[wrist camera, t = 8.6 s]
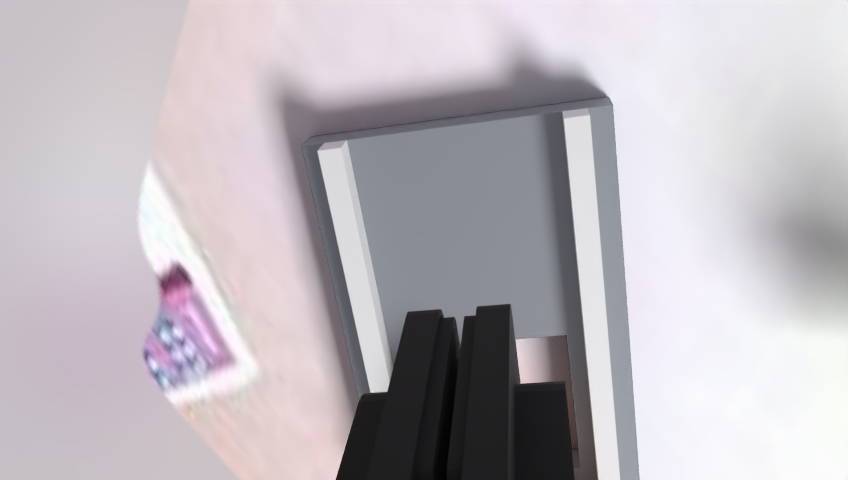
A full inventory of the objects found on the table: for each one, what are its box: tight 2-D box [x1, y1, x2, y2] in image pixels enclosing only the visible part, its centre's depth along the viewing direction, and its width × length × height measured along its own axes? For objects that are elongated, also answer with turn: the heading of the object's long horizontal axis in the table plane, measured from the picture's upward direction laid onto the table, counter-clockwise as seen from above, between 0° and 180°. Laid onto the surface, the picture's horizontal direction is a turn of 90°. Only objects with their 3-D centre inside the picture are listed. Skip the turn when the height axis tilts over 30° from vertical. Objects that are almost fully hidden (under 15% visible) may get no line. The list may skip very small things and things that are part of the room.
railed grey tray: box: [302, 97, 640, 480], centre depth 34 cm, size 20×13×4 cm, turn 9°
